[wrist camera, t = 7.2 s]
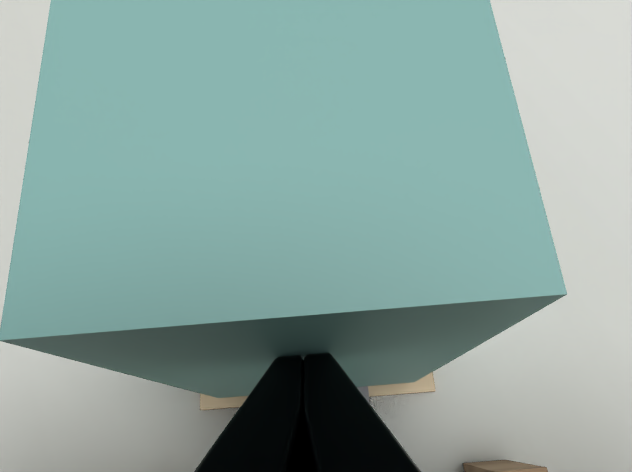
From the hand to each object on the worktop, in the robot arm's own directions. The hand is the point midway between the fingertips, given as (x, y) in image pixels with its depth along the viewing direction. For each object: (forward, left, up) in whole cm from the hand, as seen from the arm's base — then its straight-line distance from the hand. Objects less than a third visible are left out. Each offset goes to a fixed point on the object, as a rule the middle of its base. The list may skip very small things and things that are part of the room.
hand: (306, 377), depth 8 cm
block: (+2, +2, -7) cm, 7 cm away
